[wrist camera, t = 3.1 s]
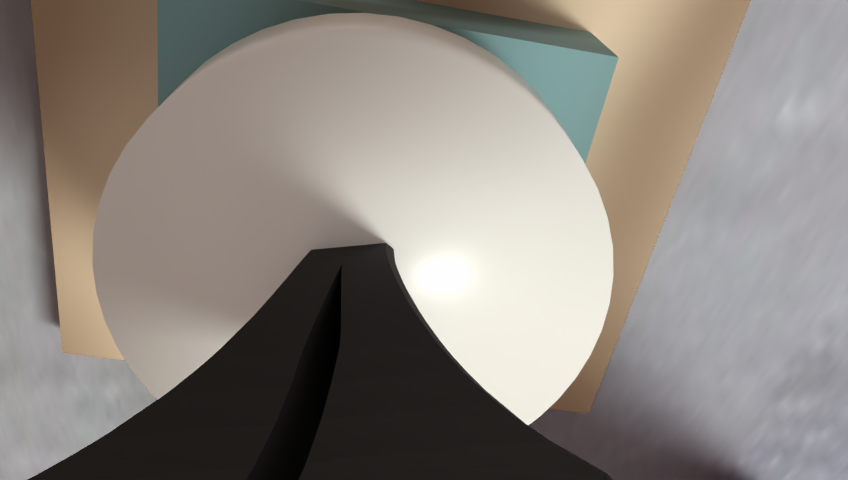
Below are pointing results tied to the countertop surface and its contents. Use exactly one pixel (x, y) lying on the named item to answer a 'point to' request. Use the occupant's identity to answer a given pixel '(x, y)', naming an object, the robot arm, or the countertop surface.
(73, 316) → the dispenser base
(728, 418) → the countertop surface
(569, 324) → the disc
